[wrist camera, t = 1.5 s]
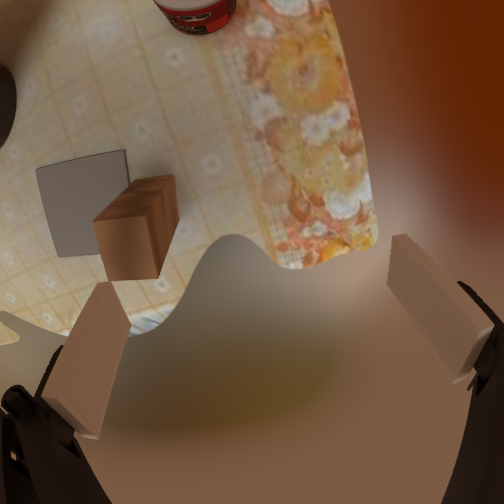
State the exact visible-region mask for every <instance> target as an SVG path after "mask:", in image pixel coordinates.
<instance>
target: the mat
mask: <svg viewBox="0 0 504 504" xmlns="http://www.w3.org/2000/svg"><path fill="white" fill-rule="evenodd" d="M36 175H37V180H38V185H39V189H40V194H41V198H42V202H43V206H44V210H45V214H46V218H47V221H48V225H49V228H50V232H51V235H52V239H53V242H54V245H55V248H56V251H57V254H58V257H71V256H84V255H97V254H100V251H99V247H98V243H97V240H96V236H95V232H94V228H93V224H92V221H93V220H94V219H95V218H96V217H97V216H98V215H99V214H100V213H101V212H102V211H103V210H104V209H105V208H106V207H107V206H108V205H109V204H110V203H111V202H112V201H113V200H114V199H115V198H116V197H117V196H118V195H119V194H120V193H122V192H123V191H124V190H125V189H126V188H127V187H128V186H129V185H130V181H129V175H128V168H127V161H126V153H125V150H119V151H114V152H108V153H103V154H98V155H93V156H88V157H83V158H79V159H74V160H70V161H66V162H62V163H58V164H54V165H50V166H46V167H42V168H38V169H36Z"/></svg>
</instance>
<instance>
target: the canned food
mask: <svg viewBox="0 0 504 504" xmlns="http://www.w3.org/2000/svg"><path fill="white" fill-rule="evenodd" d="M153 1H154V2H155V3H156V5H157V6H158V7H159V9H160V10H161V11H162V12H163V14H164V15H165V16H166V17H167V19H168V20H169V21H170V23H171V24H172V25H173V26H174V27H175V28H176V29H177V30H179V31H181V32H184V33H187V34H194V35H197V34H206V33H210V32H213V31H216V30H217V29H219V28H221V27H223V26H224V25H225V24H227V22H228V21H229V20H230V19H231V18H232V16H233V15H234V12H235V9H236V0H153Z"/></svg>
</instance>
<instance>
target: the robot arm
mask: <svg viewBox="0 0 504 504" xmlns="http://www.w3.org/2000/svg"><path fill="white" fill-rule="evenodd" d="M15 108H16V90H15V84H14V80H13V77H12V75H11V73H10V72H9V70H8V69H7V68H6V67H5V66H3V65H0V147H1V146H2V145H3V143H4V142H5V140H6V138H7V136H8V134H9V132H10V129H11V127H12V123H13V119H14V115H15ZM387 285H388V287H389V288H390V290H391V291H392V292H393V293H394V295H395V296H396V297H397V299H398V301H399V302H400V303H401V305H402V306H403V307H404V309H405V310H406V312H407V313H408V315H409V316H410V318H411V319H412V320H413V322H414V323H415V325H416V326H417V328H418V329H419V331H420V332H421V334H422V335H423V337H424V338H425V340H426V341H427V343H428V345H429V346H430V348H431V349H432V351H433V352H434V354H435V355H436V357H437V359H438V360H439V362H440V363H441V365H442V367H443V368H444V370H445V372H446V373H447V375H448V377H449V378H450V380H451V382H452V383H453V384H454V383H456V382H458V381H460V380H462V379H464V378H466V377H468V375H469V373H470V371H471V370H472V368H473V367H474V369H475V370H476V372H477V373H476V375H475V376H474V378H473V379H472V381H471V383H470V384H469V386H468V388H467V390H468V391H469V390H470V388H471V387H472V386H473V390H472V396H471V402H470V407H469V413H468V417H467V422H466V426H465V431H464V435H463V439H462V443H461V446H460V450H459V454H458V457H457V460H456V464H455V467H454V470H453V473H452V476H451V479H450V481H449V485H448V487H447V490H446V492H445V495H444V497H443V500H442V503H441V504H504V323H503V322H502V321H501V320H500V319H499V318H498V317H497V315H496V314H495V313H494V312H493V311H492V310H491V309H490V307H489V306H488V305H487V304H486V303H485V302H483V300H482V299H481V298H480V297H479V296H477V293H476V292H475V291H474V290H473V289H472V288H471V287H470V286H468V285H466V284H464V283H463V282H461V281H458V282H455V280H454V279H453V278H452V277H451V276H450V275H449V274H448V273H447V272H446V271H445V270H444V269H443V268H442V267H441V266H440V265H439V264H438V263H437V262H436V261H434V259H433V258H431V257H430V256H429V255H428V254H427V253H426V252H425V251H424V250H423V249H422V248H421V247H420V246H419V245H418V244H417V243H415V242H414V241H413V240H412V239H411V238H410V237H409V236H408V235H407V234H401V235H395V236H392V247H391V255H390V264H389V272H388V279H387ZM130 328H131V323H130V321H129V319H128V317H127V315H126V313H125V311H124V309H123V307H122V305H121V303H120V301H119V298H118V296H117V294H116V292H115V290H114V287H113V285H112V283H111V281H108V282H102V283H97V285H96V287H95V288H94V290H93V292H92V294H91V295H90V297H89V299H88V301H87V302H86V304H85V306H84V308H83V310H82V311H81V313H80V315H79V317H78V319H77V321H76V323H75V324H74V326H73V328H72V330H71V332H70V334H69V336H68V338H67V340H66V342H65V344H64V345H61V346H60V347H59V348H58V350H57V351H56V352H55V353H54V354H53V356H52V358H51V360H50V362H49V365H48V366H47V369H46V373H44V375H43V377H42V380H41V382H40V384H39V386H38V389H37V391H36V393H35V396H34V398H33V397H32V396H31V395H30V394H29V392H28V391H27V390H26V389H25V388H24V387H23V386H21V385H14V386H12V387H10V388H9V389H8V390H7V391H6V392H5V394H4V395H3V398H2V400H1V406H2V407H3V408H4V409H5V410H6V411H7V412H8V413H9V414H5V412H4V411H3V410H2V409H1V408H0V504H112V503H111V501H110V500H109V498H108V497H107V495H106V493H105V492H104V490H103V488H102V487H101V485H100V483H99V482H98V480H97V478H96V477H95V475H94V473H93V471H92V469H91V467H90V465H89V463H88V462H87V460H86V458H85V456H84V454H83V452H82V449H81V448H80V446H79V444H78V441H77V440H76V438H75V437H74V436H73V435H74V431H75V430H76V431H77V432H78V433H79V434H80V435H81V436H82V437H86V438H92V439H99V436H100V431H101V427H102V423H103V419H104V415H105V411H106V407H107V404H108V400H109V396H110V393H111V389H112V386H113V382H114V379H115V375H116V372H117V369H118V365H119V362H120V359H121V356H122V352H123V349H124V346H125V343H126V340H127V337H128V334H129V331H130ZM11 452H12V453H14V454H15V455H16V461H15V460H14V459H12V458H11Z"/></svg>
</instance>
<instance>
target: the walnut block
mask: <svg viewBox="0 0 504 504" xmlns="http://www.w3.org/2000/svg"><path fill="white" fill-rule="evenodd" d="M179 219H180V217H179V210H178V202H177V194H176V186H175V178H174V174H172V175H163V176H154V177H146V178H138V179H136V180H135V181H133V182H132V183H131V184H130V185H129V186H128V187H127V188H126V189H125V190H124V191H123V192H122V193H120V194H119V195H118V196H117V197H116V198H115V199H114V200H113V201H112V202H111V203H110V204H109V205H108V206H107V207H106V208H105V209H104V210H103V211H102V212H101V213H100V214H99V215H98V216H97V217H96V218H95V219H94V220H93V221H92V224H93V228H94V232H95V236H96V240H97V243H98V247H99V251H100V254H101V258H102V261H103V264H104V268H105V271H106V274H107V277H108V280H109V281H122V280H143V279H158V278H159V275H160V272H161V269H162V266H163V263H164V260H165V257H166V255H167V252H168V249H169V246H170V243H171V241H172V238H173V235H174V233H175V230H176V227H177V225H178V222H179Z"/></svg>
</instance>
